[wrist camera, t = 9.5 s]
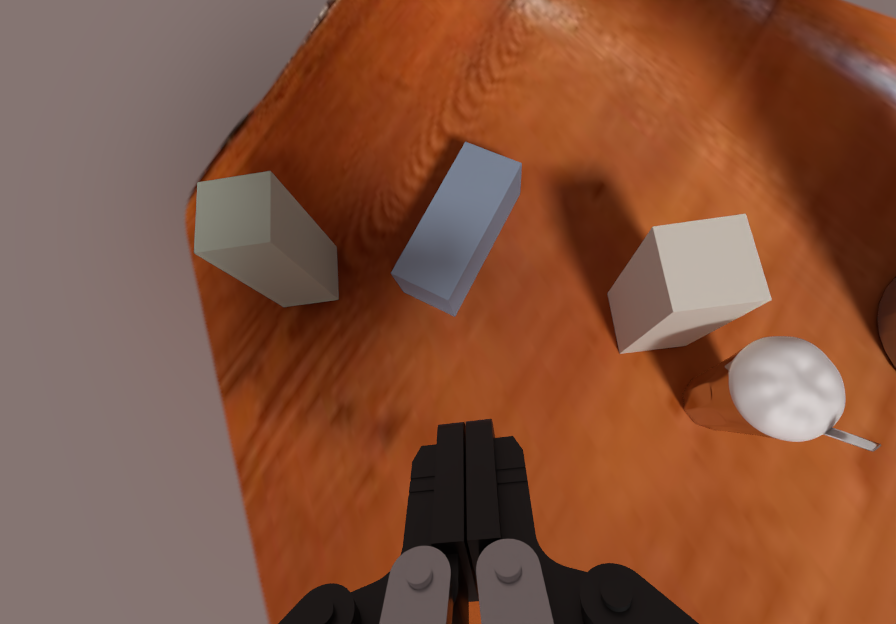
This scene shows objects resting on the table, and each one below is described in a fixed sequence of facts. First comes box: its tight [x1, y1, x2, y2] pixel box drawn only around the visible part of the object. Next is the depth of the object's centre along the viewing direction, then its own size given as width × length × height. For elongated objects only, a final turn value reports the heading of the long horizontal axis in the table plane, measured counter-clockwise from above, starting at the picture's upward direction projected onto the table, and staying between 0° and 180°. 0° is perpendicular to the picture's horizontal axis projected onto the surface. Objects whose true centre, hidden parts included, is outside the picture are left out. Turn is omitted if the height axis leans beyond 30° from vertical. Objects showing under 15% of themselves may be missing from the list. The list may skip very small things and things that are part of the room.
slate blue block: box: [391, 142, 522, 317], centre depth 31 cm, size 4×4×10 cm
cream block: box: [607, 214, 772, 354], centre depth 25 cm, size 4×4×10 cm
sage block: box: [194, 171, 339, 307], centre depth 29 cm, size 4×4×10 cm
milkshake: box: [682, 336, 881, 451], centre depth 23 cm, size 4×5×10 cm
